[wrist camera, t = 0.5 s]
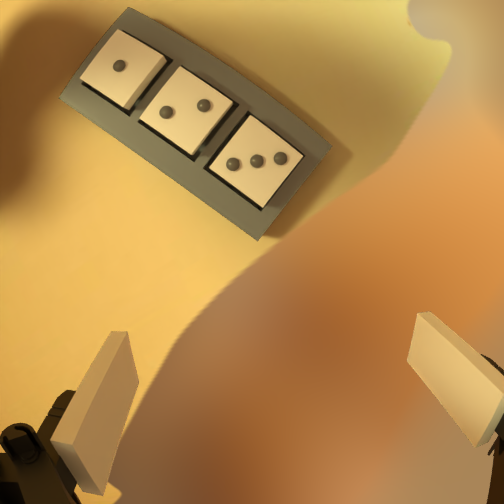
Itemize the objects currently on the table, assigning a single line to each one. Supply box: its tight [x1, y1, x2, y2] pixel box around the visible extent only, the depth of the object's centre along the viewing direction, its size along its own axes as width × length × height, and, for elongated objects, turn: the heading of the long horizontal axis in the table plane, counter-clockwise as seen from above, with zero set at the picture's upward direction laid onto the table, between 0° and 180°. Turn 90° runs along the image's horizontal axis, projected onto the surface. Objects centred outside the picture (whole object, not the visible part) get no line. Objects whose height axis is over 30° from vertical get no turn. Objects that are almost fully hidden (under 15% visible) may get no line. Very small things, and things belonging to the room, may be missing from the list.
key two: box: [140, 66, 233, 155], centre depth 27 cm, size 6×6×2 cm
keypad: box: [59, 7, 332, 241], centre depth 30 cm, size 26×12×3 cm, turn 52°
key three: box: [209, 115, 303, 208], centre depth 29 cm, size 6×6×2 cm
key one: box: [80, 29, 167, 110], centre depth 25 cm, size 6×6×2 cm
